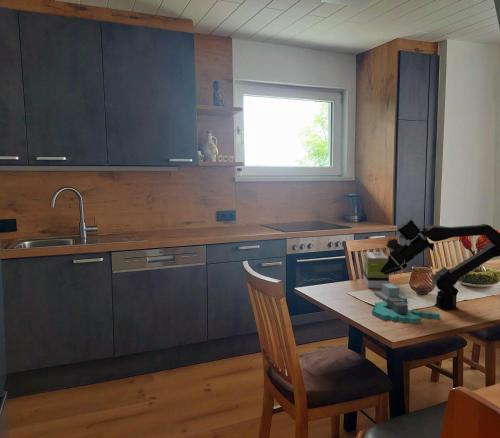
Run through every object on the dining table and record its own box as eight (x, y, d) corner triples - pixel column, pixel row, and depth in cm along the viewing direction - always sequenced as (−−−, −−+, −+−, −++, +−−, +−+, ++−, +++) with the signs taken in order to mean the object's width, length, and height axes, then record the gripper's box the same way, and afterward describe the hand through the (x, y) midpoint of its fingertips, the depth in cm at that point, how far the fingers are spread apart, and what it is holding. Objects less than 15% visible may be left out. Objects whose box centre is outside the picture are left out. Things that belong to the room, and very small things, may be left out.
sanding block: (393, 294, 176) (394, 281, 175) (407, 303, 164) (407, 289, 163) (374, 295, 175) (374, 282, 174) (386, 304, 163) (386, 290, 162)
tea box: (362, 279, 201) (363, 251, 199) (383, 280, 199) (383, 251, 198) (367, 288, 186) (367, 257, 184) (389, 288, 184) (390, 257, 183)
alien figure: (401, 304, 164) (361, 310, 157) (401, 298, 164) (361, 304, 157) (439, 320, 145) (396, 328, 138) (439, 314, 145) (396, 321, 138)
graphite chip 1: (396, 305, 156) (396, 297, 155) (401, 308, 152) (401, 301, 151) (386, 305, 155) (386, 298, 155) (391, 309, 151) (392, 301, 151)
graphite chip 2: (402, 309, 151) (402, 301, 150) (407, 313, 147) (407, 305, 146) (392, 310, 150) (392, 302, 150) (397, 313, 146) (397, 305, 146)
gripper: (402, 237, 169) (373, 260, 172) (397, 229, 152) (365, 255, 156) (420, 257, 164) (390, 280, 167) (417, 251, 148) (384, 277, 151)
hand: (382, 273), depth 161 cm, fingers open, 9 cm apart
